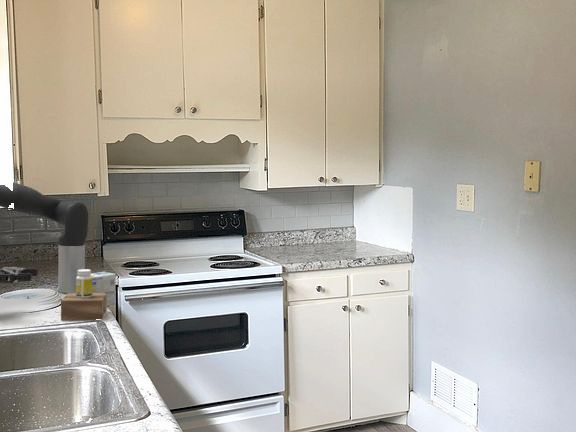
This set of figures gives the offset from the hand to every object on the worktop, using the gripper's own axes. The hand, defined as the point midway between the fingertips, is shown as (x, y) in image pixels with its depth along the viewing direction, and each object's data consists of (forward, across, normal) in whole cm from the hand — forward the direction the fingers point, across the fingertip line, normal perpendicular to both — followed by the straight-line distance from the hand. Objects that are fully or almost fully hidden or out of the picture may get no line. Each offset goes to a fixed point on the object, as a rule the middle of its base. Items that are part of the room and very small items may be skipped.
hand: (34, 274), depth 201 cm
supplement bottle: (+15, 0, +7) cm, 16 cm away
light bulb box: (+17, +14, +13) cm, 26 cm away
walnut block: (+15, 0, +13) cm, 20 cm away
